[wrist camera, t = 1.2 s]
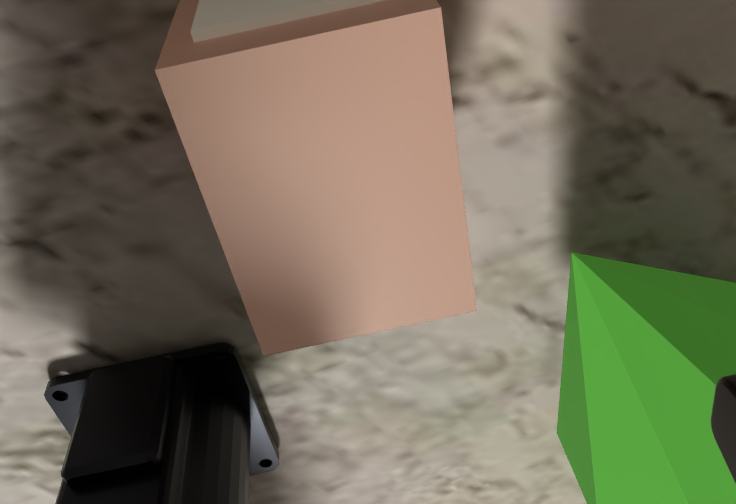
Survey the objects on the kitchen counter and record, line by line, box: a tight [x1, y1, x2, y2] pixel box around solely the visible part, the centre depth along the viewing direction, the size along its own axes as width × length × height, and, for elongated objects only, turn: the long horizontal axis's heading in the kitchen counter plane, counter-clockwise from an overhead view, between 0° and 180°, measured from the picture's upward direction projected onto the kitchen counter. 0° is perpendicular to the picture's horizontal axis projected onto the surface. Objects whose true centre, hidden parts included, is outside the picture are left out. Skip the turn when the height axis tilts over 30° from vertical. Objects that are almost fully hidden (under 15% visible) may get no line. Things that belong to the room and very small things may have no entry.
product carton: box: [155, 0, 477, 356], centre depth 16 cm, size 7×5×6 cm
